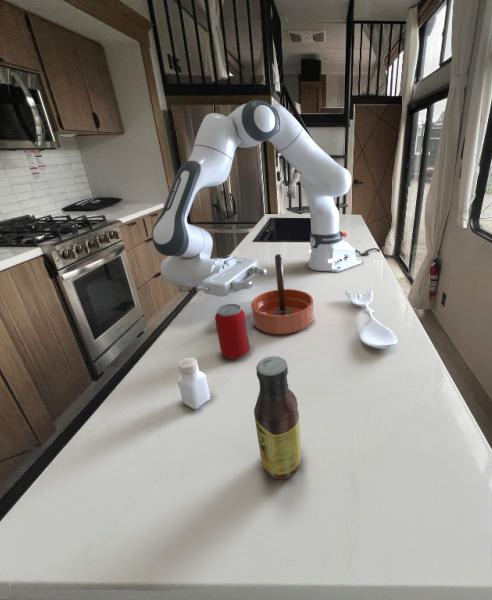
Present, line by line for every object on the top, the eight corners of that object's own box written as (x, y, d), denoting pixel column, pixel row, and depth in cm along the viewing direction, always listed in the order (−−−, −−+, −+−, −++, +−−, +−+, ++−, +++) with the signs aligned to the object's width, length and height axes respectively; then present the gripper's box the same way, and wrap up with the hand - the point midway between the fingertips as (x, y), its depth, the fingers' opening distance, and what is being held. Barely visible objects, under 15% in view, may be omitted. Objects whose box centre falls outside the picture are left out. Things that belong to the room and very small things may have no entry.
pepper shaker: (195, 411, 62) (185, 371, 58) (182, 403, 64) (171, 364, 60) (212, 398, 65) (203, 359, 61) (198, 391, 67) (189, 353, 63)
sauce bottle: (263, 448, 54) (249, 349, 45) (301, 445, 54) (294, 346, 46) (260, 486, 48) (244, 380, 39) (302, 482, 48) (295, 376, 40)
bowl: (296, 301, 104) (295, 284, 101) (325, 324, 91) (324, 304, 88) (244, 316, 96) (242, 298, 93) (268, 343, 83) (266, 322, 80)
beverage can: (254, 347, 81) (249, 304, 76) (240, 363, 75) (233, 318, 70) (231, 343, 83) (224, 301, 78) (215, 358, 77) (207, 313, 72)
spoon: (371, 296, 106) (372, 287, 104) (401, 353, 77) (403, 341, 76) (344, 298, 105) (344, 288, 104) (364, 355, 77) (365, 343, 75)
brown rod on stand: (287, 311, 96) (282, 250, 88) (295, 319, 92) (291, 254, 84) (271, 316, 94) (264, 253, 85) (278, 324, 90) (273, 258, 81)
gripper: (189, 277, 82) (238, 282, 79) (230, 253, 100) (271, 256, 97) (194, 299, 85) (241, 305, 82) (233, 272, 103) (273, 276, 99)
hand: (258, 278), depth 89 cm, fingers open, 8 cm apart
